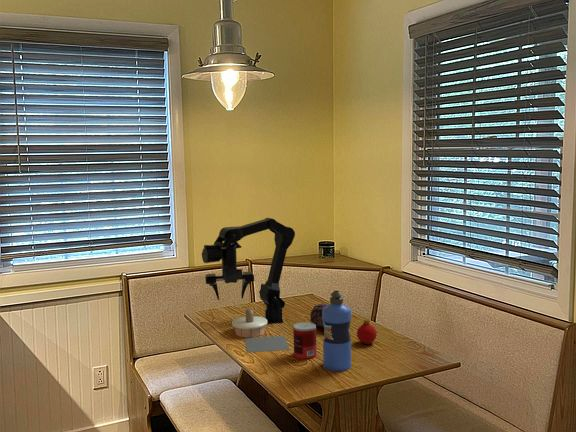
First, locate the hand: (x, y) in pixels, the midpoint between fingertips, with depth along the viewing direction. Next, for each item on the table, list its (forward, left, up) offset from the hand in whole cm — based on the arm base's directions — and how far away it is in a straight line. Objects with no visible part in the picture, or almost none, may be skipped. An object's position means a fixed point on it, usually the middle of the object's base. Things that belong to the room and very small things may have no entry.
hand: (230, 299), depth 231 cm
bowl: (-7, +6, -12) cm, 15 cm away
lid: (-7, +6, -8) cm, 13 cm away
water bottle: (-33, +44, -12) cm, 57 cm away
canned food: (-24, +34, -12) cm, 44 cm away
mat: (-12, +20, -12) cm, 27 cm away
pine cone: (-36, +6, -12) cm, 39 cm away
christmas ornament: (-48, +25, -12) cm, 56 cm away
